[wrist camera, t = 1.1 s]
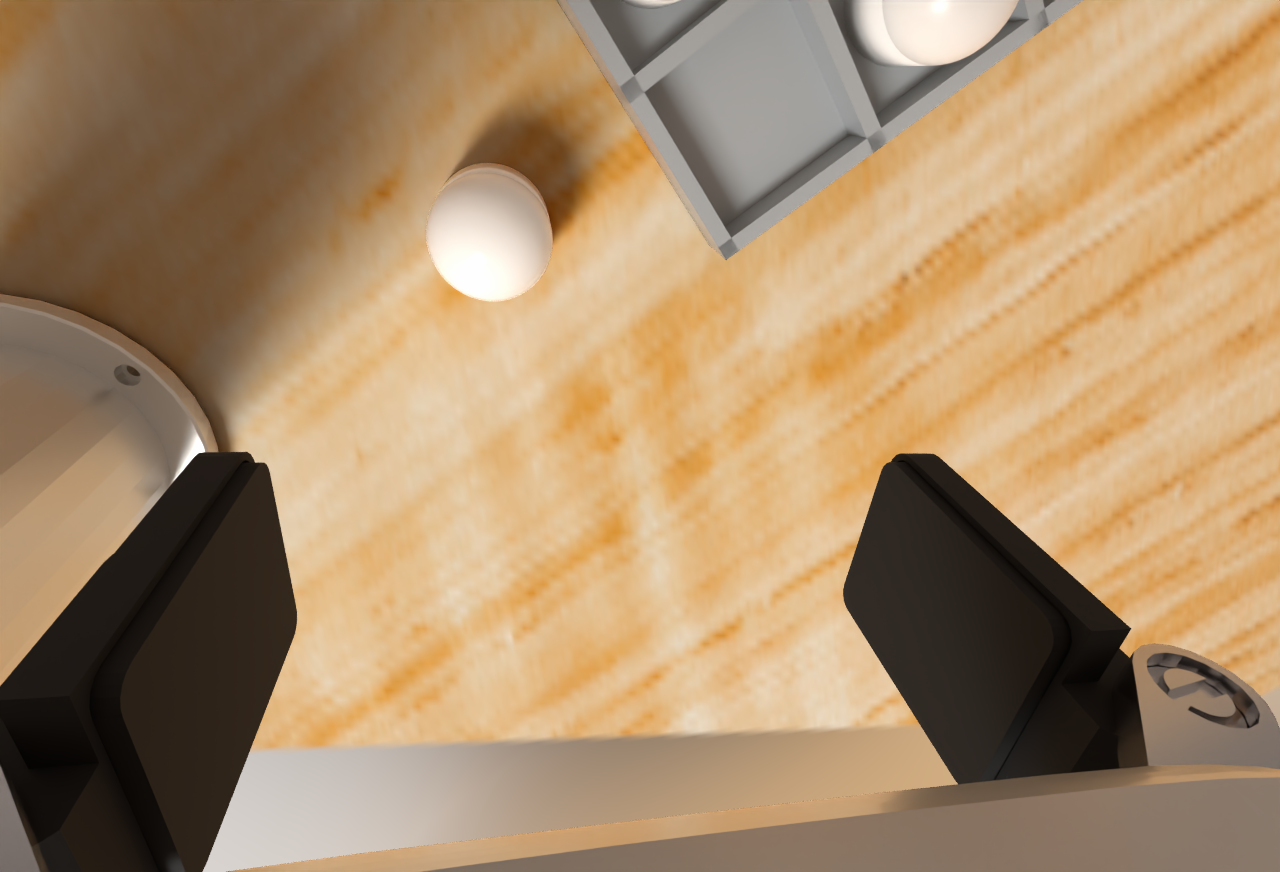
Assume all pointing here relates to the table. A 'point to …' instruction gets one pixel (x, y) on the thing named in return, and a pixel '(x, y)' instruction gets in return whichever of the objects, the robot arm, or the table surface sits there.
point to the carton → (787, 87)
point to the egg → (489, 232)
